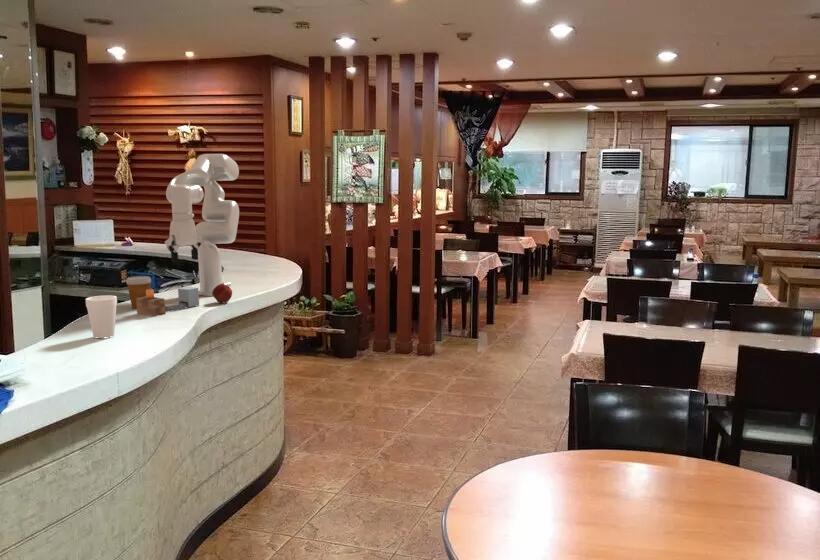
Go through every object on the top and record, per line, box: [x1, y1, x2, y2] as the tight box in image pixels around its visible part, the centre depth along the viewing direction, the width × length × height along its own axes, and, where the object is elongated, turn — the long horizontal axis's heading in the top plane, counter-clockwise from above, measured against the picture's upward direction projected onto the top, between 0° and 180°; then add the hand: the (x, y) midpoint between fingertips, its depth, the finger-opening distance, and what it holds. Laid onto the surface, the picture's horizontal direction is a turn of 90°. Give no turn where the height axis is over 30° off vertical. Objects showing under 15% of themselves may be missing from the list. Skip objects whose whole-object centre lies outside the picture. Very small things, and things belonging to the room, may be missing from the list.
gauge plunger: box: [146, 288, 155, 300], centre depth 279 cm, size 3×3×4 cm
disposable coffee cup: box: [125, 275, 152, 310], centre depth 293 cm, size 10×10×12 cm
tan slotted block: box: [136, 296, 166, 317], centre depth 280 cm, size 5×10×6 cm, turn 57°
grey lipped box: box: [177, 286, 200, 308], centre depth 295 cm, size 5×6×7 cm
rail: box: [165, 301, 188, 312], centre depth 291 cm, size 15×4×2 cm, turn 147°
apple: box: [212, 284, 233, 304], centre depth 301 cm, size 7×8×8 cm
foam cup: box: [85, 294, 118, 338], centre depth 242 cm, size 10×9×13 cm
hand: (185, 260), depth 292 cm, fingers open, 9 cm apart
